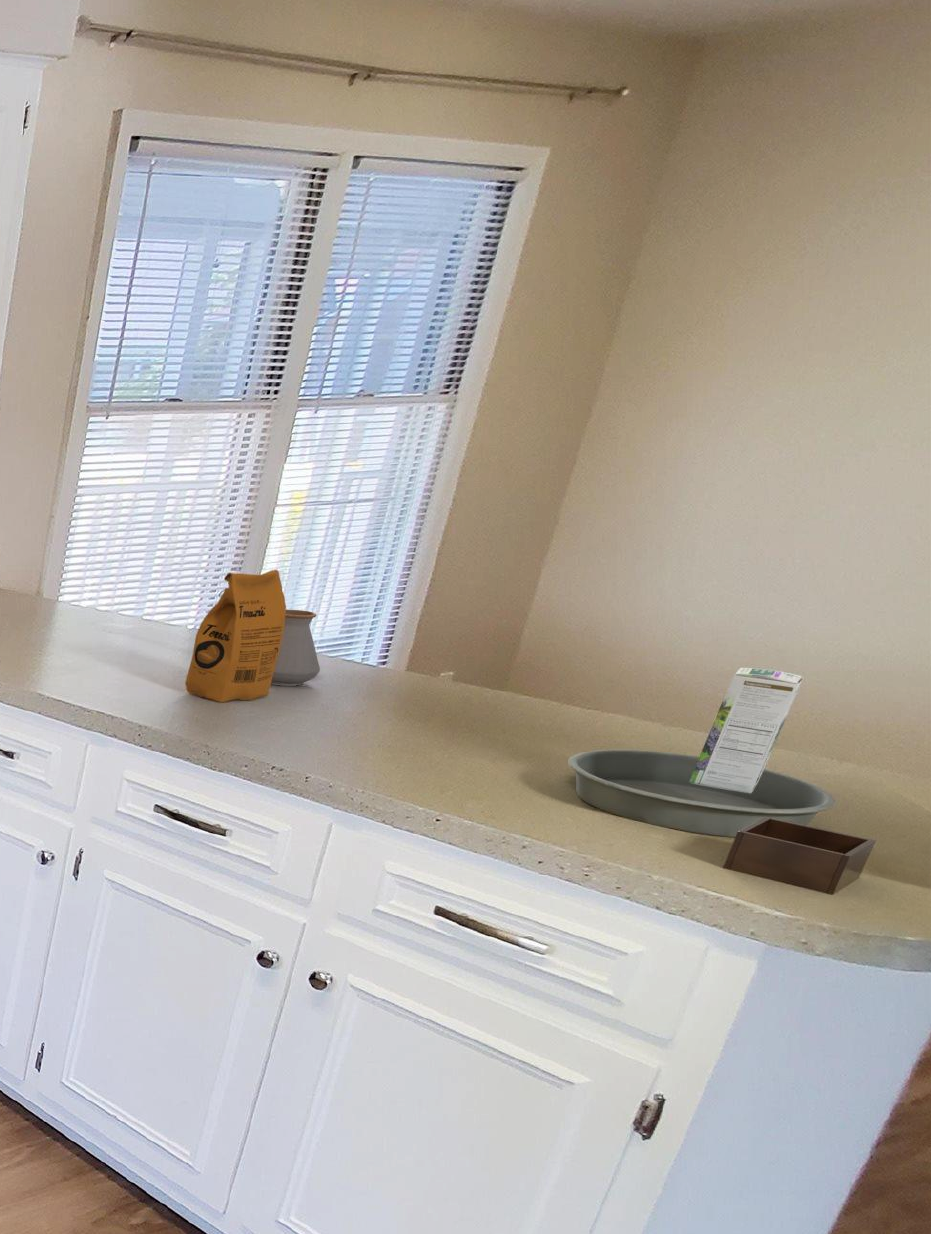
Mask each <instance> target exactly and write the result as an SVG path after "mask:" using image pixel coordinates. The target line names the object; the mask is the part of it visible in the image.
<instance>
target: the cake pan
mask: <svg viewBox="0 0 931 1234" xmlns="http://www.w3.org/2000/svg"><path fill="white" fill-rule="evenodd" d="M699 757H700V756H697V755H691V754H683V753H677V752H676V753H675V752H668V751H667V752H666V751H657V750H656V751H655V750H643V749H642V750H641V749H598V750H589V751H584V752H579V753H576V754H574V755H572V756H570V757H569V759H568V761H567V763H568V766H569V767H570V769H571V770H573V771H574V772H575V778H576V779H575V780H576V785H575V786H576V787H575V788H576V794H577V796H578V797H579V799H581V801H584V802H585V803H587V804H589V805H591V806H593V807H595V808H597V809H599V810H602V811H605V812H606V813H610V814H613V815H615V816H617V817H618V816H619V817H622V818H626V819H628V820H632V821H636V822H640V823H643V824H644V823H645V824H649V825H653V826H657V827H661V828H666V829H672V830H677V831H681V832H688V833H694V834H702V835H709V836H718V837H726V838H735V837H736V834H737V832H738V831H740V830H741V829H743V828H745V827H747V826H749V825H751V824H753V823H755V822H757V821H759V820H761V819H763V818H765V817H769V818H773V819H778V820H783V821H787V822H792V823H797V824H801V825H806V826H809V824H810V822H811V821H812V820H813V819H814V818H815V817H816V815H817V814H818V813H820V812H824V811H827V810H829V809H831V808H833V807H834V806H835V805H836V799H835V797H834V796H833V795H832V794H831V793H829V792H828V791H826V790H825V789H823V788H821V787H820V786H818V785H815V784H813V783H810V782H808V781H806V780H803V779H799V778H796V777H794V776H791V775H787V774H784V773H780V772H777V771H773V770H769V769H765V768H764V770H763V772H762V775H761V777H760V779H759V781H758V783H757V785H756V787H755V788H754V790H753V792H752V793H745V792H739V791H732V790H726V789H720V788H714V787H709V786H703V785H697V784H692V783H690V782H689V781H690V779H691V776H692V774H693V771H694V769H695V767H696V764H697V762H698V759H699Z"/></svg>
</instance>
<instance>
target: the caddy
mask: <svg viewBox="0 0 931 1234" xmlns="http://www.w3.org/2000/svg"><path fill="white" fill-rule="evenodd" d="M875 844H876V839H870V838H867V837H861V836H857V835H852V834H848V833H843V832H838V831H834V830H829V829H824V828H819V827H814V826H810V825H807V826H806V825H801V824H797V823H792V822H787V821H783V820H778V819H773V818H769V817H765V818H763V819H761V820H759V821H757V822H755V823H753V824H751V825H749V826H747V827H745V828H743V829H741V830H740V831H738V832H737V834H736V837H734V839H733V842H732V843H731V847H730V849H729V852H728V854H727V857H726V860H725V862H724V864H723V866H722V869H725V870H729V871H733V872H736V873H740V874H745V875H749V876H753V877H756V878H762V879H765V880H769V881H774V882H778V883H781V884H785V885H790V886H794V887H798V888H801V889H806V890H809V891H810V890H811V891H813V892H818V893H823V894H826V895H831V896H834V895H836V894H837V893H838V892H840V891H841V890H843V889H844V888H846V887H848V886H849V885H851V884H852V883H854V882H855V881H857V880H859V879H860V877H861V875H862V873H863V870H864V868H865V866H866V863H867V861H868V859H869V857H870V855H871V852H872V851H873V848H874V846H875Z"/></svg>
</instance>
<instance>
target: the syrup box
mask: <svg viewBox="0 0 931 1234" xmlns="http://www.w3.org/2000/svg"><path fill="white" fill-rule="evenodd" d="M803 680H804V676H803V675H801V674H795V673H790V672H786V671H780V670H775V669H767V668H755V667H740V668H739V669H738V670H737V671H736V673H735V674H734V675H732V678H731V680H730V682H729V685H728V687H727V690H726V691H725V695H724V697H723V699H722V701H721V704H720V706H719V709H718V711H717V713H716V715H715V718H714V720H713V722H712V725H711V727H710V730H709V732H708V735H707V738H706V739H705V742H704V745H703V747H702V750H701V752H700V754H699V756H698V757H699V759H698V762H697V764H696V767H695V769H694V771H693V774H692V776H691V779H690V781H689V782H690V783H692V784H697V785H703V786H709V787H714V788H720V789H726V790H732V791H739V792H745V793H752V792H753V790H754V788H755V787H756V785H757V783H758V781H759V779H760V777H761V775H762V772H763V770H764V769H765V767H766V765H767V763H768V761H769V759H770V756H771V754H772V752H773V749H774V747H775V745H776V743H777V740H778V738H779V735H780V733H781V731H782V729H783V726H784V725H785V722H786V720H787V717H788V715H789V713H790V710H791V707H792V705H793V703H794V701H795V698H796V696H797V694H798V692H799V689H800V687H801V685H802V682H803Z"/></svg>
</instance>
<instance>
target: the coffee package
mask: <svg viewBox="0 0 931 1234" xmlns="http://www.w3.org/2000/svg"><path fill="white" fill-rule="evenodd" d="M280 576H281V575H280V572H279V570H278V569H271V570H269V571H267V572H264V573H262V574H251V573H250V574H249V573H239V572H238V573H237V572H235V573H234V572H228V573H227V574H226V575H225V576H224V578H223V579H224V581H225V582H227V583H228V587H226V588H227V589H226V588H225V589H226V590H225V589H224V590H225V591H223V592H222V594H221V595H220V597H219V600H218V602H216V604H215V605H214V606H212V608H211V609H210V610H209V612H208V613H206V615H205V617H204V618H203V619H202V621H201V623H200V625H199V628H198V630H197V632H196V634H195V639H194V644H193V645H194V646H193V651H192V657H191V659H190V664H189V668H188V673H187V675H186V679H185V683H184V684H185V687H186V691H187V693H189V694H191V695H192V694H193V695H197V696H198V697H199V698H205V699H206V700H209V701H214V702H217V703H226V702H230V701H234V700H241V701H254V700H258V699H260V698H264V697H268V696H269V693H270V688H271V685H272V684H271V681H272V676H273V673H274V669H275V666H276V662H277V658H278V654H279V651H280V647H281V641H282V635H283V631H284V625H285V616H286V610H287V605H286V596H285V594H284V591H283V585H282V581H281V577H280Z"/></svg>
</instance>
